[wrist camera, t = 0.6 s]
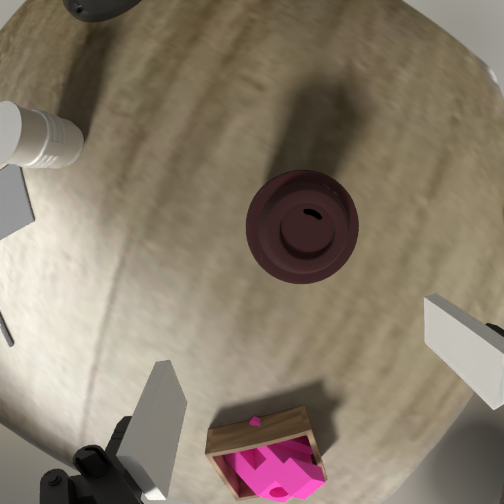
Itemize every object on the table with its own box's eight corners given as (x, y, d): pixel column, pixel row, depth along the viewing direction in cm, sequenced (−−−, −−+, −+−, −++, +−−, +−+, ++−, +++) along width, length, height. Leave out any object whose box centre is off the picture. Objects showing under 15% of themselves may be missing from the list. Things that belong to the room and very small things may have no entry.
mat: (-20, 185, 38) (-21, 185, 38) (19, 159, 38) (17, 159, 37) (-5, 242, 40) (-6, 243, 39) (34, 221, 40) (33, 221, 39)
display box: (207, 429, 47) (204, 454, 41) (304, 405, 46) (311, 429, 41) (236, 477, 50) (236, 500, 44) (321, 457, 49) (327, 480, 43)
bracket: (313, 439, 48) (325, 482, 38) (279, 471, 49) (285, 513, 39) (253, 415, 46) (256, 462, 36) (221, 451, 48) (219, 495, 38)
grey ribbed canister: (74, 177, 39) (6, 177, 24) (40, 158, 38) (-29, 154, 23) (95, 130, 38) (32, 110, 23) (59, 114, 37) (-6, 93, 22)
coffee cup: (274, 268, 42) (290, 312, 27) (228, 205, 40) (221, 215, 25) (337, 224, 41) (385, 245, 26) (294, 159, 39) (323, 145, 25)
